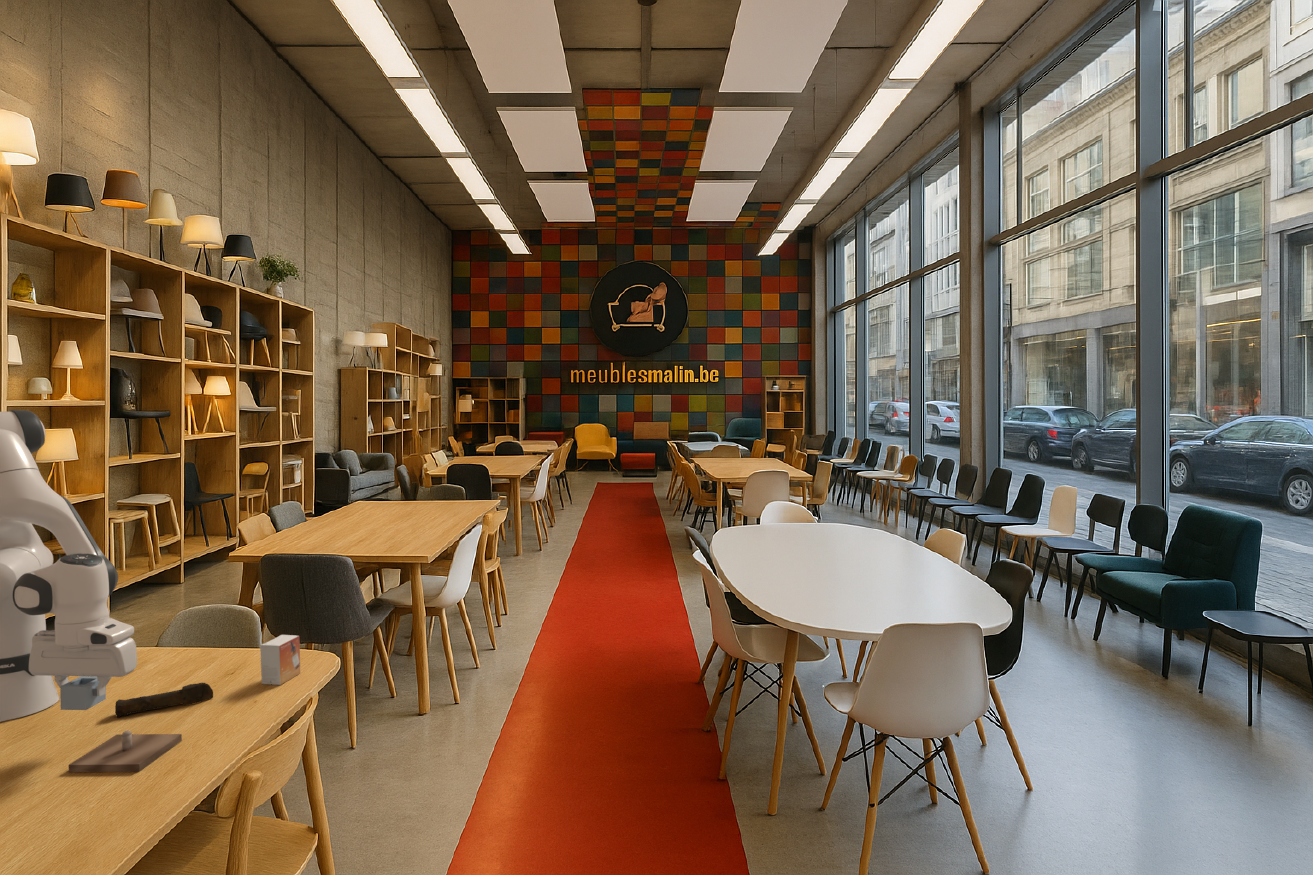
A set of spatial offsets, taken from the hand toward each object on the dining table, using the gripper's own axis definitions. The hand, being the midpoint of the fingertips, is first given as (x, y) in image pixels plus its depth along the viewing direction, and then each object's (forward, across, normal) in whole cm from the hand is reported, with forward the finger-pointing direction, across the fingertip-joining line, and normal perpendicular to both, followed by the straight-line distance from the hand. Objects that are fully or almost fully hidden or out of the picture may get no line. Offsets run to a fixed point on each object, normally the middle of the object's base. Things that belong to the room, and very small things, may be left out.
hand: (83, 694), depth 143 cm
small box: (+10, +24, +33) cm, 42 cm away
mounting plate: (+11, +13, -5) cm, 17 cm away
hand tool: (+11, +5, +18) cm, 22 cm away
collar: (+2, 0, 0) cm, 2 cm away
